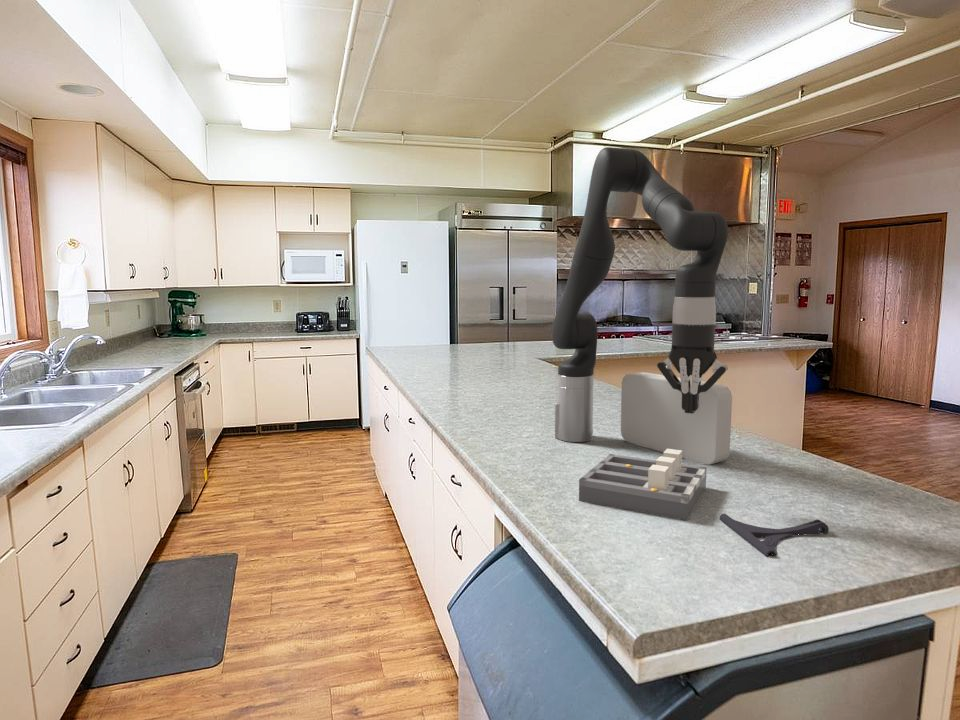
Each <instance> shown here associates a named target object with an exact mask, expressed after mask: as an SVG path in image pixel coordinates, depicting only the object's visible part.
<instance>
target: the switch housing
mask: <svg viewBox="0 0 960 720" xmlns="http://www.w3.org/2000/svg"><path fill="white" fill-rule="evenodd" d="M656 460H657V459H655V460H654V459H648V458H643V457H642V458H640V457H633V456H627V455H620V454H611V453H610V454H608V455H607V456H606V457H605V458H603V460H601V461H600V462H598V463H597V464H596V465H595V466H594V467H592V468H591V469H590V470H589V471H587V472H586V473H585V474H584V475H583V476H582V477H580V478H579V479H578V501H581V502H585V503H591V504H596V505H602V506H606V507H612V508H618V509H624V510H629V511H633V512H639V513H645V514H650V515H655V516H660V517H661V516H662V517H666V518H671V519H677V520H683V521H688V520H689V518H690V516H691V514H692V513H693V511H694V509H695V507H696V505H698V502H699V501H700V498H701V497H702V495H703V493H704V492H705V490H706V488H707V469H708V468H707V467H706V466H700V465H699V466H698V465H691V464H686V463H685V464H684V463H682V468H687V472H686V473H683V472H676V471H675V476H678V477H681V480H680V482H676V481H670V480H669V486H674V491H673V492H670V491H664V490H658V489H656V488H645V487H643V486H644V485H645V484H646V483H647V482H648V469H649V468H650V467H651V466H652V465H656Z"/></svg>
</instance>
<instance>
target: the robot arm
mask: <svg viewBox="0 0 960 720" xmlns="http://www.w3.org/2000/svg"><path fill="white" fill-rule="evenodd" d="M611 192H615V193H616V192H617V193H631V192H632V193H635V194H637V195H638V196H641V204H642V208H643V210H644V212H645V213H646V215H647V216H648V217H649V218H650V219H651V220H652V221H654V222H655V223H656V224H657V225H658V226H660V228H661V231H662V233H663V235H664V237H665V240H666V242H667V244H669V246H670V247H672V248H673V249H675V250H678V251H683V252H686V251H687V252H689V251H690V252H693V251H695V252H696V255H695V258H694V260H693V261H692V262H691V263H686V264H683V265H680V266H679V267H678V268H677V269H676V272H675V279H674V282H675V285H674V301H673V306H672V307H673V308H672V324H671V325H672V326H671V327H672V328H671V329H672V330H671V349H670V351H669V352H668V357H667V358H666V359H664V360H662V361H660V362H658V363H657V364H656V365H657V369H658V370H659V371H660V372H661V375H664V377H665V378H666V380H667V381H668V382H669V384H670V385H671V386H672V388H673V389H677V390H679V391H680V392H681V393H682V410H685V413H691V414H693V413H694V412H695V411H696V410H697V409H698V407H699V394H700V393H701V392H706V391H707V390H709V389H710V388H711V387H712V386H713V385H714V384H715V383H716V384H717V382H718V380H720V379H721V377H722V376H723V375H724V374H725V373H726V372H727V371H728V368H729V367H728V365H726V364H722V363H721V362H720V361H719V360H718V359H717V358H718V357H717V356H718V355H717V354H716V352H715V339H716V338H715V337H716V336H715V335H716V321H717V313H716V311H717V307H716V281H717V278H716V277H717V272H718V269H719V267H720V264H721V260H722V257H723V254H724V251H725V248H726V244H727V241H728V236H729V229H728V223H727V220H726V218H725V217H724V216H723V215H722V214H721V213H719V212H716V211H695V207H694V205H693V203H692V202H691V200H690V199H689V198H688V197H687V196H686V195H684V194H683V193H682V192H680V191H679V190H677V189H676V188H675V187H674V186H672V185H671V184H670V183H668V181H666V180H665V179H664V177H663V176H662V175H661V174H660V173H659V171H658V170H657V168H656V167H655V166H654V165H653V164H652V162H651V160H649V158H648V157H647V156H646V155H645V154H644V153H643V152H642V151H639V150H636V149H632V148H625V147H623V148H621V147H614V146H613V147H611V146H608V147H603V148H602V149H601V150H600V151H599V152H598V153H597V155H596V158H595V160H594V164H593V167H592V171H591V177H590V181H589V188H588V193H587V199H586V200H587V201H586V205H585V210H584V214H583V218H582V223H581V227H580V230H579V231H580V232H579V235H578V237H577V238H578V239H577V242H576V245H575V248H574V251H573V252H574V253H573V256H572V261H571V263H570V264H571V266H570V268H569V273H568V277H567V281H566V284H565V288H564V291H563V295H562V297H561V300H560V303H559V305H558V307H557V311H556V314H555V316H554V319H553V323H552V327H551V341H552V343H553V345H554V346H555V348H557V349H560V350H575V351H574V353H573V355H571V356H570V357H569V358H567V359H565V360H564V361H562V362H560V363H559V364H558V366H557V367H558V368H557V371H558V372H557V375H558V376H557V382H558V383H557V402H555V404H554V411H555V412H554V438H555V439H557V440H561V441H564V442H568V443H569V442H570V443H583V442H589V441H591V440H593V432H594V429H593V428H594V425H593V424H594V379H595V378H594V372H595V371H594V370H595V366H596V362H597V348H598V347H597V346H598V334H599V333H598V331H599V330H598V324H597V320H596V318H595V317H594V315H592V313H591V314H590V313H587V312H586V313H585V312H584V313H583V312H582V313H579V312H580V310H581V308H582V306H583V304H584V303H585V301H586V300H587V299H588V297H590V296H591V295H592V294H593V293H594V291H596V289H597V288H598V287H599V286H600V285H601V284H602V283H603V282H604V280H605V279H606V277H607V276H608V274H609V272H610V269H611V266H612V262H613V259H614V254H615V251H616V244H615V243H616V242H615V239H614V235H613V231H612V229H611V226H610V223H609V220H608V219H609V218H608V213H607V211H608V202H609V197H610V195H611ZM712 366H713V367H712ZM673 367H674V368H675V370H676V372H677V373H679V374H680V375H679V376H680V377H678V376H677V375H676V374H675V372H674V371H673ZM711 367H712V370H711V372H712V373H713V374H712V375H711V376H710V377H709V378H708V380H706V381H705V382H706V383H705V384H703V385H701V381H702V380H703V376H704V374H706V373H707V372H708V370H709V369H710V368H711ZM678 378H680V380H681V382H680V381H679V379H678ZM691 380H692V385H691ZM690 390H691V392H690Z"/></svg>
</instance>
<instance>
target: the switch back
mask: <svg viewBox="0 0 960 720" xmlns="http://www.w3.org/2000/svg"><path fill="white" fill-rule="evenodd" d="M662 453H663V455H662V456H663V457H670V458H676V468H675V471H676V472H683V473H686V472H687V468H682V464H683V458H682V450H674V449H666V450H665V451H664V452H662Z"/></svg>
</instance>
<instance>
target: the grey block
mask: <svg viewBox="0 0 960 720" xmlns="http://www.w3.org/2000/svg"><path fill="white" fill-rule="evenodd" d="M677 378H678V379H679V381H680V382H681V380H680V377H677ZM705 383H706V381H704V380H703V381H701V385H703V384H705ZM691 385H692V379H691ZM690 392H691V390H690ZM620 395H621V399H620V406H621V407H620V433H621V434H620V435H621V438H622V439H623V440H624V441H626V442H627V443H630V444H633V445H637V446H640V447H644V448H648V449H650V450H653V451H657V452H662V453H663V452H664V451H665V450H666V449H674V450H682V459H685V460H688V461H692V462H696V463H699V464H703V465H713V464H717V463H721V462H724V461H726V460H727V459H728V458H729V455H730V452H731V451H730V449H731V448H730V447H731V434H732V433H731V429H732V428H731V427H732V409H733V408H732V406H733V395H732V391H731V390H730V388H729V387H728V386H727V385H724V384H722V383H717V382H716V383H715V384H714V385H713V386H712V387H711V388H710V389H709V390H707V391H706V392H701V393H700V394H699V407H698V409H697V410H696V411H695V412H694V413H693V414H691V413H685V410H682V393H681V392H680V391H679V390H677V389H673V388H672V386H671V385H670V384H669V382H668V381H667V380H666V378H665V377H664V375H663V374H657V373H651V372H643V371H642V372H641V371H640V372H633V373H628V374H625V375H624V376H623V377H622V381H621V394H620Z"/></svg>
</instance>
